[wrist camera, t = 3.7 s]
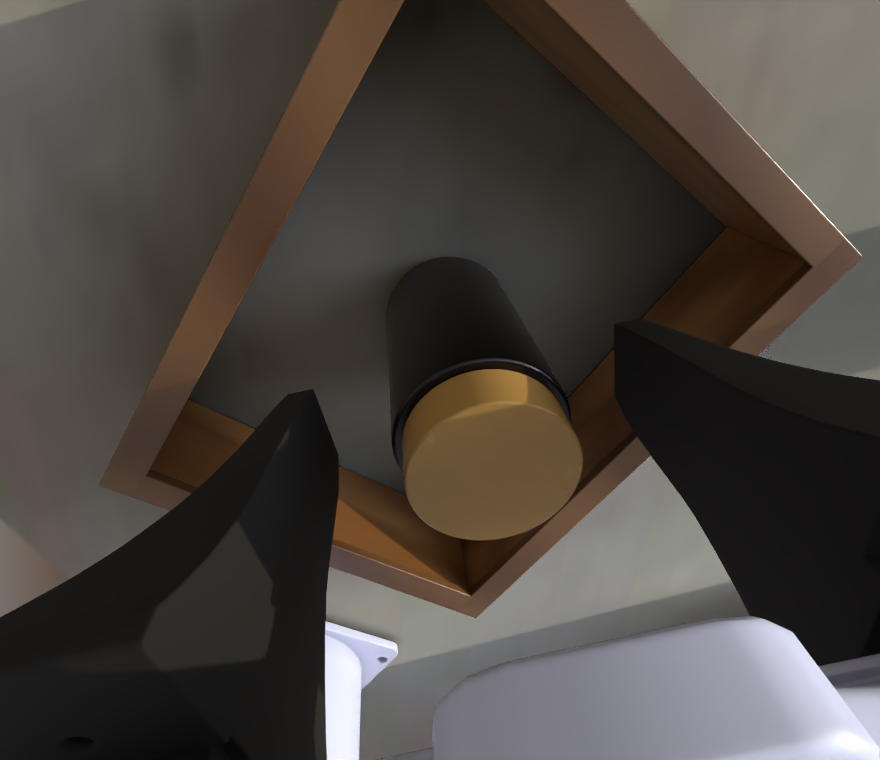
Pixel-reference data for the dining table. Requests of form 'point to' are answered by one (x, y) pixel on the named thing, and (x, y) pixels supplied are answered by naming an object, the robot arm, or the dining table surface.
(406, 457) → the pepper shaker
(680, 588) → the dining table surface
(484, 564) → the open wooden box
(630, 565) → the dining table surface
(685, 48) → the dining table surface
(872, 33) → the dining table surface
